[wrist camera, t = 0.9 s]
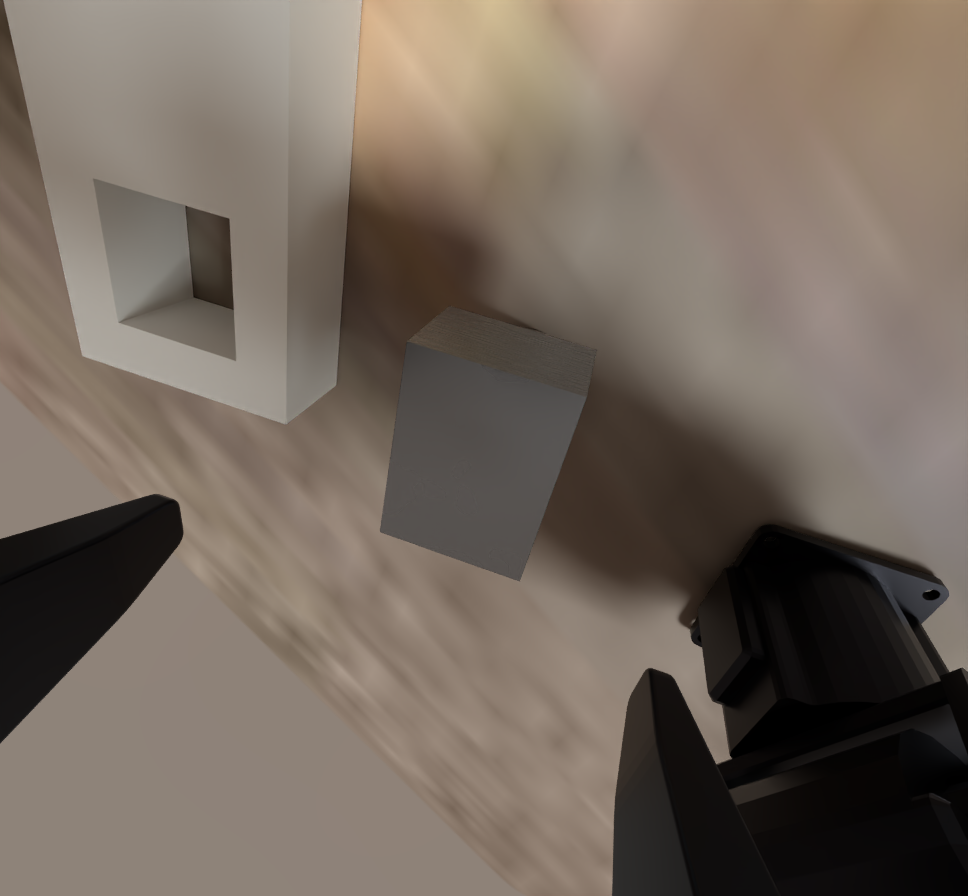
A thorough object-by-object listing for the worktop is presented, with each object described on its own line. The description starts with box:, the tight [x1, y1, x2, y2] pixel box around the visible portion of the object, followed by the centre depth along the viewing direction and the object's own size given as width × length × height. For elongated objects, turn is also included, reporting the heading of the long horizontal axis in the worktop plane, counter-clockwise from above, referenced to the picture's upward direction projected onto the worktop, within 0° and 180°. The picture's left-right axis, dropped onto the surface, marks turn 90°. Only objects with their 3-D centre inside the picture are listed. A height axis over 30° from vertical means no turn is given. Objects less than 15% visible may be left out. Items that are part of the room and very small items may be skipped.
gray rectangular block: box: [380, 306, 597, 581], centre depth 15 cm, size 4×6×7 cm
